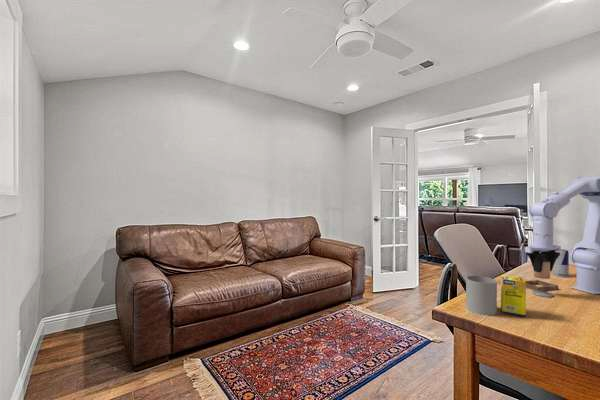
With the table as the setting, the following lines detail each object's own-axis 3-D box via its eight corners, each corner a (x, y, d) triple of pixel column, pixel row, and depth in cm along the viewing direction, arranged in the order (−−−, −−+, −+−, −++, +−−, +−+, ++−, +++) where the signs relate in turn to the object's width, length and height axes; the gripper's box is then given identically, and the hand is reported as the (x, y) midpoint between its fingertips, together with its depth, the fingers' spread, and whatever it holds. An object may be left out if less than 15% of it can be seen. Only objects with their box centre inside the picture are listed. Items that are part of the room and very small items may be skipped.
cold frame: (536, 283, 119) (536, 279, 119) (558, 289, 111) (558, 285, 111) (517, 285, 117) (518, 281, 117) (538, 291, 109) (538, 287, 109)
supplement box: (526, 318, 86) (526, 281, 85) (501, 313, 89) (501, 278, 89) (523, 311, 91) (523, 277, 91) (500, 307, 94) (500, 274, 94)
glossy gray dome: (540, 291, 109) (540, 290, 109) (557, 296, 103) (557, 295, 103) (528, 292, 108) (528, 291, 108) (545, 298, 102) (545, 296, 102)
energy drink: (572, 277, 127) (572, 250, 127) (559, 277, 127) (560, 250, 127) (561, 274, 133) (561, 248, 132) (549, 274, 133) (549, 248, 133)
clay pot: (541, 275, 108) (541, 259, 108) (553, 278, 104) (553, 262, 104) (531, 275, 108) (530, 259, 107) (542, 279, 103) (542, 262, 103)
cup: (501, 316, 87) (502, 284, 87) (472, 314, 88) (472, 282, 88) (489, 306, 95) (489, 276, 95) (462, 304, 97) (462, 275, 97)
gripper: (546, 232, 111) (546, 267, 111) (516, 233, 107) (516, 269, 108) (567, 234, 104) (566, 271, 104) (536, 236, 101) (536, 274, 101)
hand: (542, 271), depth 105 cm, fingers closed on clay pot, 4 cm apart
